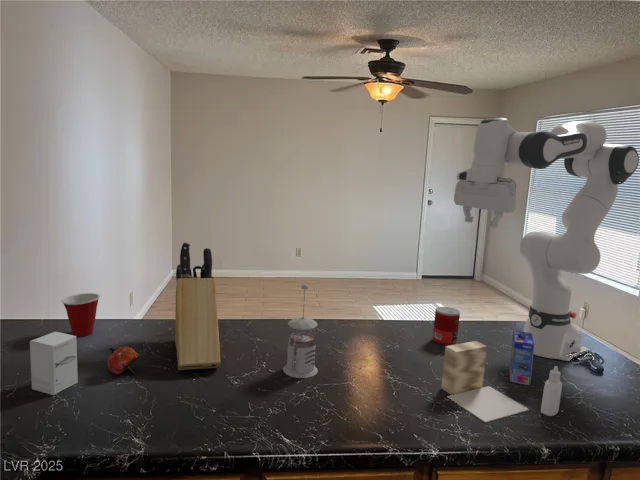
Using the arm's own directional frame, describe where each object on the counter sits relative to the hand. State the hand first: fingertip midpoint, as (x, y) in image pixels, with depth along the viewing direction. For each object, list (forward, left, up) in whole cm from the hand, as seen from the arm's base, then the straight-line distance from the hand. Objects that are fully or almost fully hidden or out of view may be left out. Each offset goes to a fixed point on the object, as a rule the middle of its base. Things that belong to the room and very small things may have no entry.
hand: (480, 224), depth 139 cm
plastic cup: (+102, -63, -43) cm, 127 cm away
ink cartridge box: (-9, +12, -43) cm, 46 cm away
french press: (+49, -14, -43) cm, 67 cm away
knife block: (+72, -39, -43) cm, 92 cm away
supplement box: (+109, -28, -43) cm, 120 cm away
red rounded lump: (+93, -30, -43) cm, 107 cm away
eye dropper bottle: (0, +29, -43) cm, 52 cm away
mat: (+12, +20, -43) cm, 49 cm away
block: (+12, +11, -43) cm, 46 cm away
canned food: (-7, -17, -43) cm, 47 cm away
